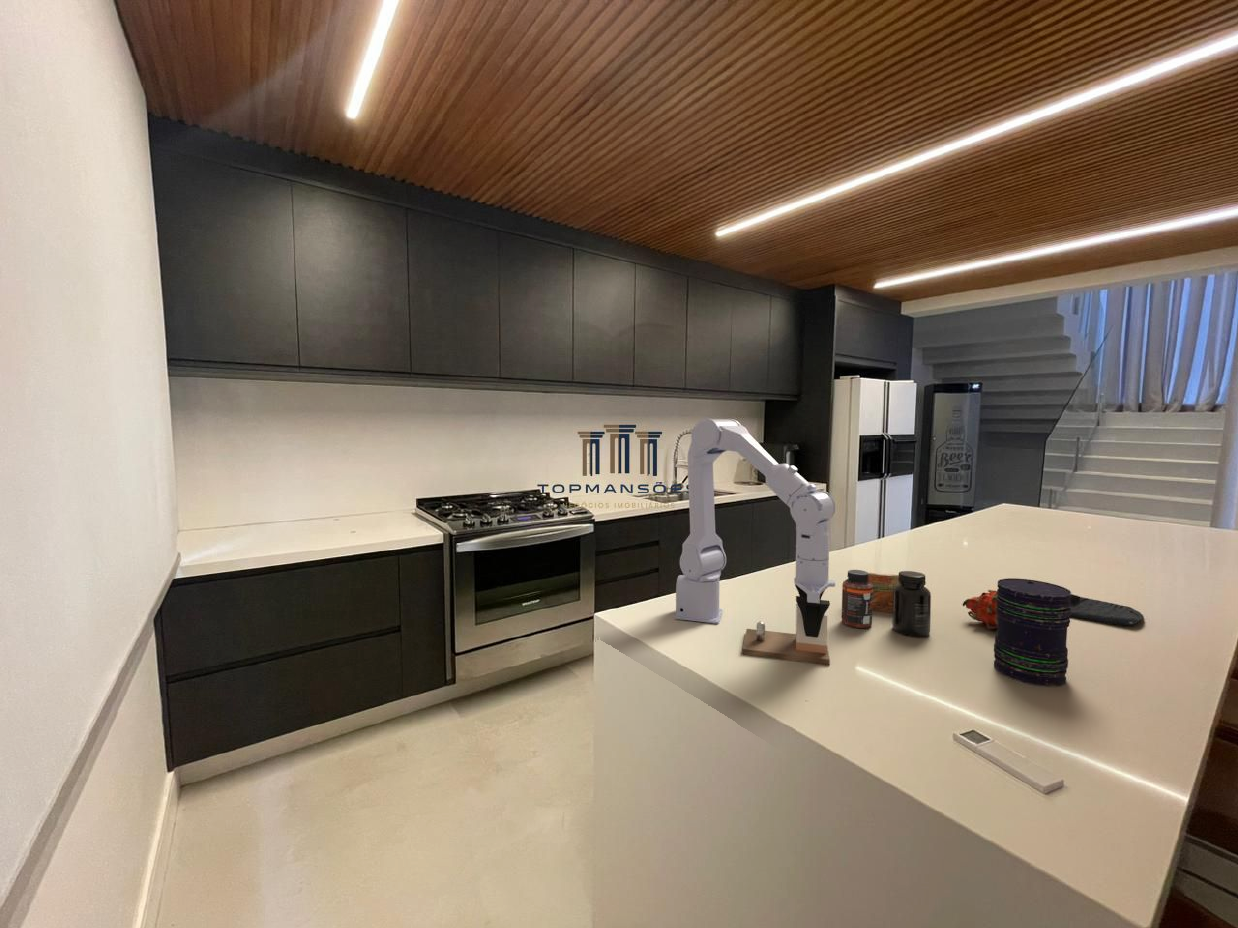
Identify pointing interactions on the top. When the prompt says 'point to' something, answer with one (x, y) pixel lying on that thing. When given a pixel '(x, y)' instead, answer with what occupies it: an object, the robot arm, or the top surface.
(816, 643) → the sleeve
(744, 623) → the top surface
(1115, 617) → the dark slate chunk
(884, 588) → the tin
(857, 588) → the supplement bottle
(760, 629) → the steel pin
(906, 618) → the supplement bottle
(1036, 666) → the dark blue cylinder
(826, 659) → the board
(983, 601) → the dragon fruit
